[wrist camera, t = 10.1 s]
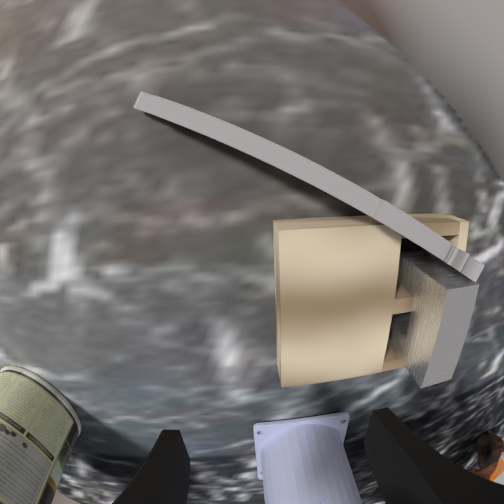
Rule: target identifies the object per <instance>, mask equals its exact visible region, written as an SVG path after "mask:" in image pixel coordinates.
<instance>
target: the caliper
mask: <svg viewBox="0 0 504 504" xmlns="http://www.w3.org/2000/svg"><path fill="white" fill-rule="evenodd" d="M133 108H136V109H138V110H141V111H144V112H147V113H149V114H152V115H155V116H157V117H160V118H163V119H165V120H168V121H170V122H173V123H176V124H178V125H181V126H183V127H186V128H188V129H191V130H193V131H196V132H198V133H200V134H203V135H205V136H208V137H210V138H212V139H215V140H217V141H219V142H222V143H224V144H226V145H229V146H231V147H233V148H235V149H238V150H240V151H242V152H244V153H247V154H249V155H251V156H253V157H255V158H258V159H260V160H262V161H264V162H266V163H268V164H270V165H272V166H275V167H277V168H279V169H281V170H283V171H285V172H287V173H289V174H291V175H293V176H295V177H297V178H299V179H301V180H303V181H305V182H307V183H309V184H311V185H313V186H315V187H317V188H319V189H321V190H323V191H324V192H326V193H328V194H330V195H332V196H334V197H336V198H338V199H340V200H341V201H343V202H345V203H347V204H349V205H351V206H352V207H354V208H356V209H358V210H360V211H361V212H363V213H365V214H366V215H368V216H370V217H372V218H374V219H375V220H377V221H379V222H380V223H382V224H384V225H386V226H387V227H389V228H391V229H393V230H394V231H396V232H398V233H399V234H401V235H402V236H404V237H406V238H407V239H409V240H410V241H412V242H413V243H415V244H417V245H418V246H420V247H422V248H423V249H425V250H427V251H428V252H429V253H431V254H433V255H434V256H436V257H437V258H439V259H440V260H442V261H444V262H445V263H447V264H448V265H450V266H451V267H453V268H454V269H456V270H457V271H459V272H460V273H462V274H463V275H465V276H466V277H468V278H469V279H471V280H473V281H474V282H475V283H476V281H477V279H478V277H479V275H480V273H481V271H482V270H483V268H484V266H485V265H483V264H482V263H480V262H479V261H477V260H475V259H474V258H472V257H470V254H468V253H467V252H465V251H463V250H460V249H458V248H457V247H455V246H453V244H452V243H450V242H449V241H447V240H446V239H444V238H443V237H442V236H440V235H439V234H437V233H436V232H434V231H433V230H431V229H430V228H428V227H427V226H425V225H423V224H422V223H420V222H419V221H417V220H416V219H414V218H413V217H411V216H409V215H408V214H406V213H405V212H403V211H401V210H400V209H398V208H396V207H395V206H393V205H391V204H390V203H388V202H386V201H385V200H382V199H380V198H378V197H377V196H375V195H373V194H372V193H370V192H368V191H366V190H365V189H363V188H361V187H359V186H357V185H356V184H354V183H352V182H350V181H348V180H347V179H345V178H343V177H341V176H339V175H337V174H336V173H334V172H332V171H330V170H328V169H326V168H324V167H322V166H320V165H318V164H316V163H314V162H312V161H310V160H308V159H306V158H304V157H302V156H300V155H298V154H296V153H294V152H292V151H290V150H288V149H286V148H284V147H282V146H280V145H278V144H275V143H273V142H271V141H269V140H267V139H264V138H262V137H260V136H258V135H256V134H253V133H251V132H249V131H246V130H244V129H242V128H239V127H237V126H235V125H232V124H230V123H228V122H225V121H223V120H220V119H218V118H215V117H213V116H210V115H208V114H205V113H203V112H200V111H197V110H195V109H192V108H189V107H187V106H184V105H181V104H179V103H176V102H173V101H170V100H167V99H164V98H162V97H159V96H156V95H155V96H153V95H151V94H147V93H144V92H140V94H139V96H138V98H137V101H136V103H135V105H134V107H133Z"/></svg>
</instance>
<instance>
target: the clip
mask: <svg viewBox="0 0 504 504" xmlns="http://www.w3.org/2000/svg"><path fill="white" fill-rule="evenodd" d="M397 281H398V282H399V283H400V284H401V285H402V286H404V287H405V288H406V289H407V290H408V291H409V292H410V293H411V294H413V295H414V299H413V305H412V310H411V312H410V313H404V314H398V315H392V320H391V326H390V331H389V337H388V344H389V345H390V346H391V348H392V349H393V350H394V352H395V353H396V355H397V356H398V357H399V359H400V360H401V361H402V363H403V364H404V366H405V367H406V368H407V370H408V371H409V373H410V374H411V375H412V377H413V378H414V380H415V381H416V382H417V384H418V385H419V387H420V388H424V387H428V386H431V385H434V384H437V383H441V382H444V381H447V380H450V379H451V378H452V376H453V373H454V370H455V368H456V365H457V362H458V359H459V356H460V353H461V350H462V347H463V344H464V341H465V338H466V334H467V331H468V328H469V324H470V320H471V317H472V313H473V309H474V305H475V301H476V297H477V293H478V288H479V284H478V283H477V282H476V283H475V282H474V281H473V280H471V279H469V278H468V277H466V276H465V275H463V274H462V273H460V272H459V271H457V270H456V269H454V268H453V267H451V266H450V265H448V264H447V263H445V262H444V261H442V260H440V259H439V258H437V257H435V256H434V255H432V254H430V253H429V252H427V251H425V250H415V251H402V252H400V259H399V268H398V277H397Z"/></svg>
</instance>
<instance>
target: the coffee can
mask: <svg viewBox="0 0 504 504" xmlns="http://www.w3.org/2000/svg"><path fill="white" fill-rule="evenodd" d="M80 434H81V423H80V420H79V417H78V415H77V413H76V411H75V410H74V409H73V407H72V406H71V404H70V403H69V402H68V401H67V400H66V399H65V397H64V396H63V395H62V394H61V393H60V392H59V391H57V390H56V389H55V388H54V387H53V386H52V385H51V384H50V383H48V382H47V381H45V380H44V379H42V378H41V377H40V376H38V375H36V374H35V373H33V372H31V371H29V370H26V369H24V368H21V367H17V366H6V367H4V368H2V369H1V370H0V504H51V503H52V500H53V498H54V495H55V492H56V490H57V487H58V484H59V482H60V479H61V477H62V474H63V472H64V469H65V467H66V464H67V462H68V459H69V457H70V455H71V452H72V450H73V448H74V445H75V443H76V441H77V438H78V437H79V436H80Z"/></svg>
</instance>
